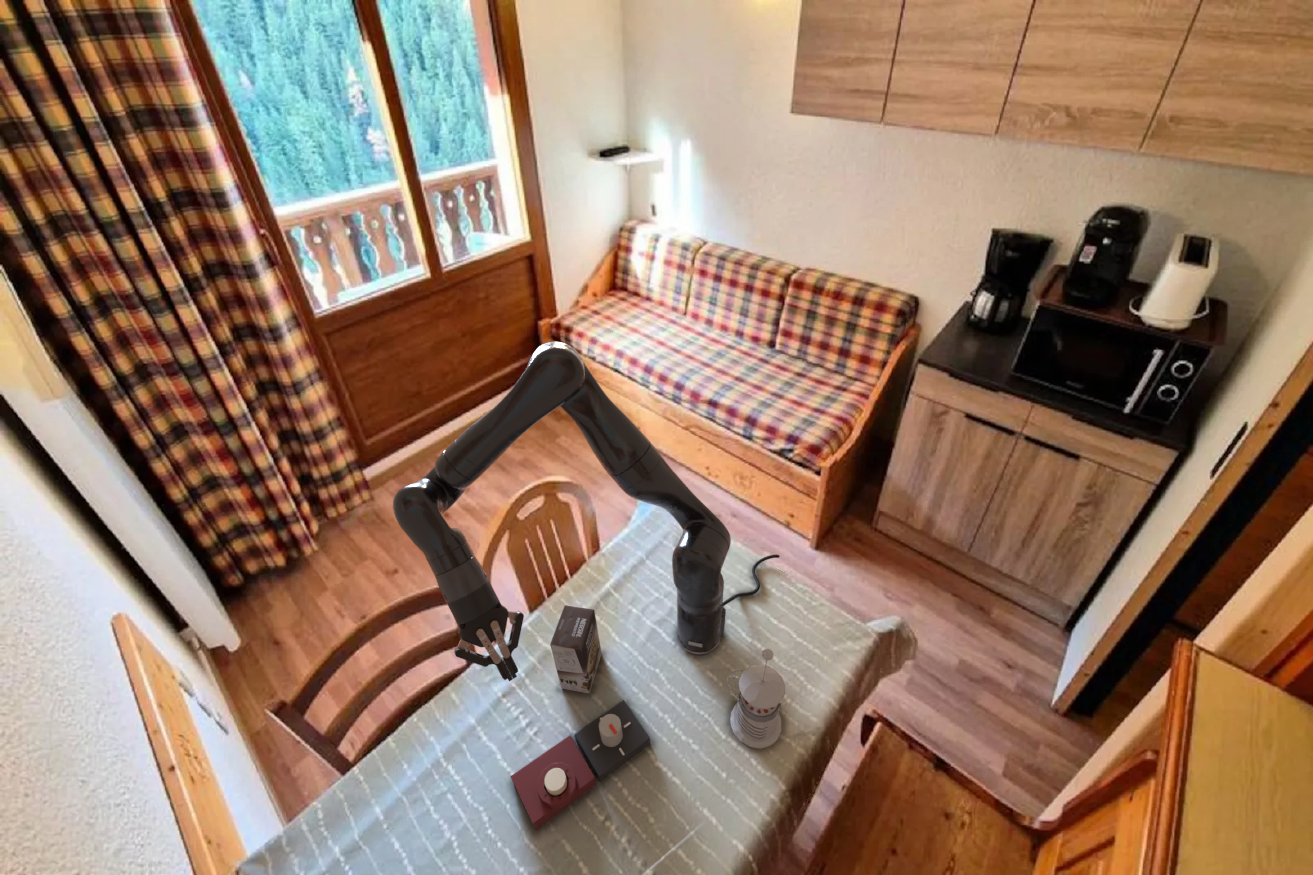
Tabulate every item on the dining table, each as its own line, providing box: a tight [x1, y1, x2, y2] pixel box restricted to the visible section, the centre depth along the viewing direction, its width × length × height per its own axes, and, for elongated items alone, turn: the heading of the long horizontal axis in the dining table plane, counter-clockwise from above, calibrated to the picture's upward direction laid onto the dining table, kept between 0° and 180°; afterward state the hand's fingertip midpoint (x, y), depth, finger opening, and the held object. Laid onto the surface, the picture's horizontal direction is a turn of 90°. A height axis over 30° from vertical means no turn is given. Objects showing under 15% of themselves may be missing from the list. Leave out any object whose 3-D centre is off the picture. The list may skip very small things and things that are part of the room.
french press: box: [726, 648, 786, 749], centre depth 102 cm, size 10×12×25 cm
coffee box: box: [549, 604, 602, 694], centre depth 114 cm, size 9×6×16 cm
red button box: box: [510, 734, 598, 831], centre depth 101 cm, size 12×10×5 cm
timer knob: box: [599, 714, 623, 747], centre depth 104 cm, size 4×4×5 cm
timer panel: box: [573, 699, 651, 782], centre depth 107 cm, size 11×9×3 cm
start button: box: [545, 768, 567, 795], centre depth 97 cm, size 4×4×2 cm
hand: (512, 678), depth 98 cm, fingers closed
